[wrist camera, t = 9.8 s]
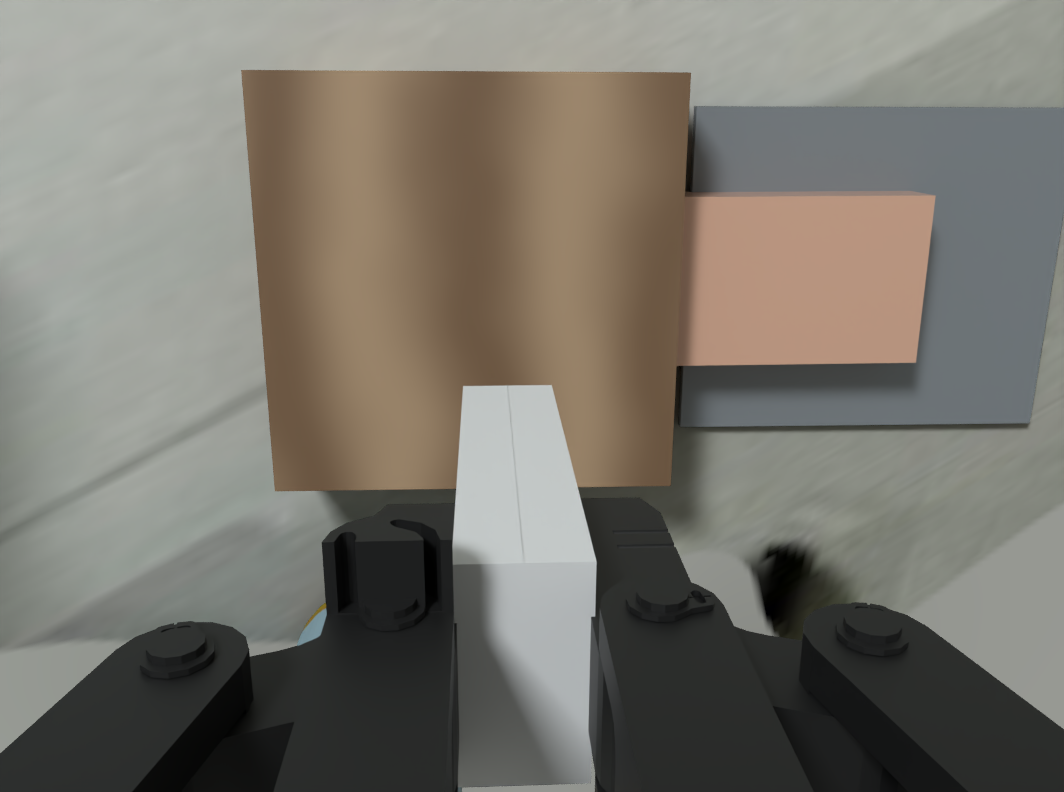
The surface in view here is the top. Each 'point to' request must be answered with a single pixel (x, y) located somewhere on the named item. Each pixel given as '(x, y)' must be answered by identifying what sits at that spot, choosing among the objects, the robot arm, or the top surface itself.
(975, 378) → the mat
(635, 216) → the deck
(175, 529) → the top surface
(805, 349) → the tile
